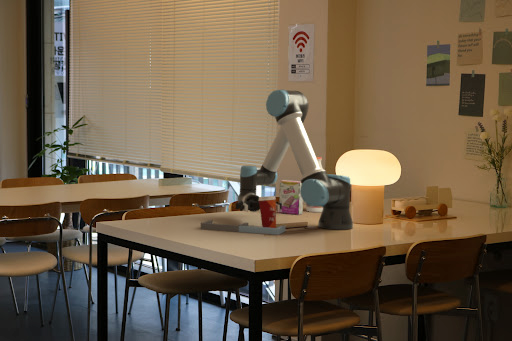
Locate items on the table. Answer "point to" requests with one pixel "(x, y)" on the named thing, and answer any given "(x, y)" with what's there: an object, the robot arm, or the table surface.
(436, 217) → the table surface
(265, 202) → the paper cup
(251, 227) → the bay organizer
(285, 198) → the candy bar box
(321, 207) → the fruit juice
